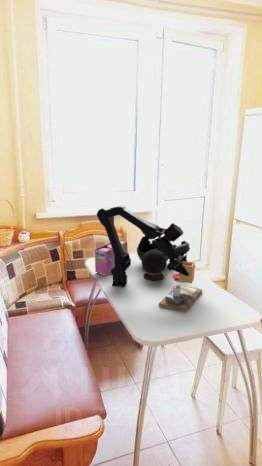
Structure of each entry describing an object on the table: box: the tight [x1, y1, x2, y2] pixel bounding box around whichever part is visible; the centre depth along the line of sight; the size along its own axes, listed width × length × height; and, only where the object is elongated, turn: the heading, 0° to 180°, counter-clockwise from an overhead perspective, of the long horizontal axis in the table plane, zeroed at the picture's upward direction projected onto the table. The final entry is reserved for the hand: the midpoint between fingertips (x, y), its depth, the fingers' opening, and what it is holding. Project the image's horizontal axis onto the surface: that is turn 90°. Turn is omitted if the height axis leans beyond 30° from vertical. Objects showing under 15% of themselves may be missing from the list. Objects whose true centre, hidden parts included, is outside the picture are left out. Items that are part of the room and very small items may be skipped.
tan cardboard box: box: [178, 260, 196, 284], centre depth 152 cm, size 6×6×8 cm
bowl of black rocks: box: [136, 235, 169, 262], centre depth 190 cm, size 20×20×19 cm
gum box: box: [94, 240, 129, 276], centre depth 187 cm, size 24×8×14 cm, turn 151°
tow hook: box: [172, 272, 179, 281], centre depth 173 cm, size 8×13×9 cm
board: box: [158, 284, 203, 314], centre depth 149 cm, size 23×12×2 cm, turn 152°
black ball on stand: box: [141, 250, 168, 282], centre depth 173 cm, size 13×13×15 cm
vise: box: [165, 285, 187, 306], centre depth 144 cm, size 7×10×6 cm
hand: (189, 273), depth 152 cm, fingers closed on tan cardboard box, 6 cm apart
